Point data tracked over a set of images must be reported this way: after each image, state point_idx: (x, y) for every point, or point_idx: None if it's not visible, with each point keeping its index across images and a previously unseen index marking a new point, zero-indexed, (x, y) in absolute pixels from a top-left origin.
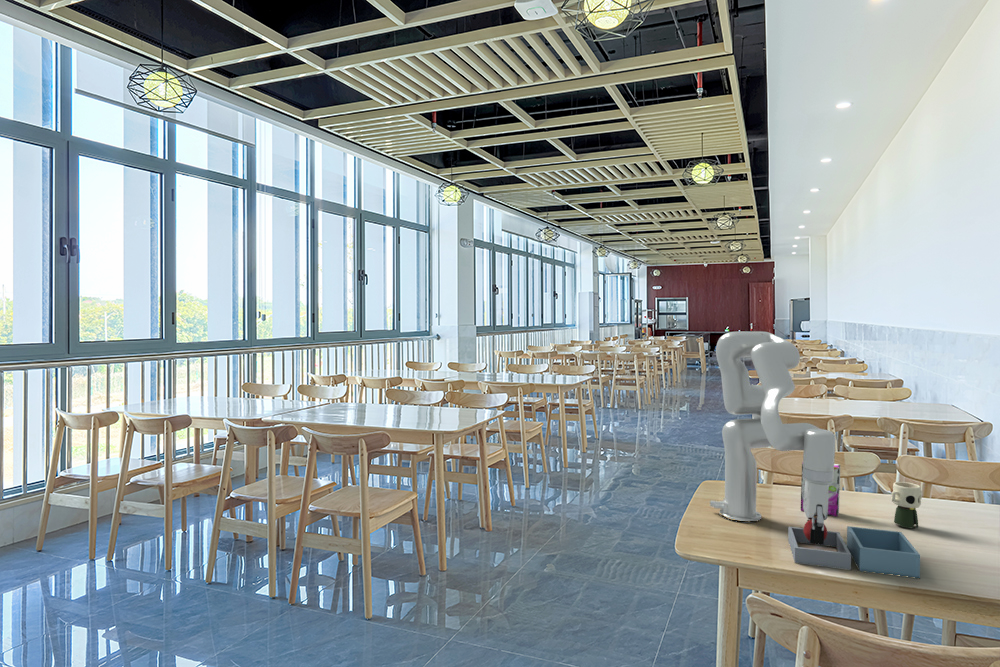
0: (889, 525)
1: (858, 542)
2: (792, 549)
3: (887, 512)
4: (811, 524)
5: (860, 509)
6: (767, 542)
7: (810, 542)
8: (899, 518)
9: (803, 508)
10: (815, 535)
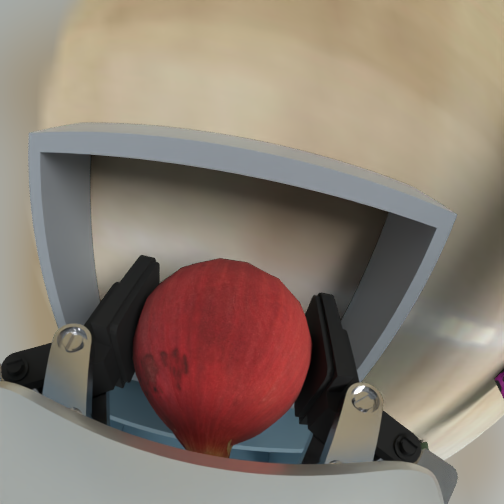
0: (422, 435)
1: (121, 420)
2: (173, 130)
3: (462, 428)
4: (152, 369)
5: (490, 404)
6: (371, 51)
7: (141, 255)
8: None
9: (376, 475)
10: (97, 311)
